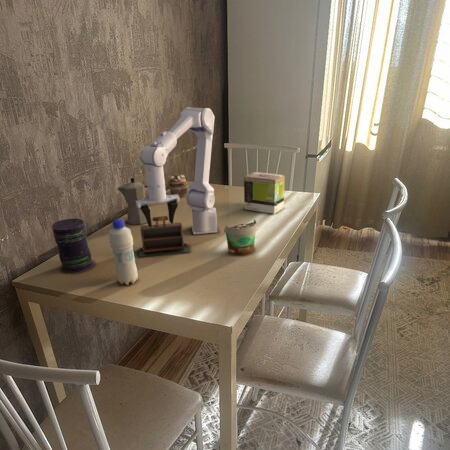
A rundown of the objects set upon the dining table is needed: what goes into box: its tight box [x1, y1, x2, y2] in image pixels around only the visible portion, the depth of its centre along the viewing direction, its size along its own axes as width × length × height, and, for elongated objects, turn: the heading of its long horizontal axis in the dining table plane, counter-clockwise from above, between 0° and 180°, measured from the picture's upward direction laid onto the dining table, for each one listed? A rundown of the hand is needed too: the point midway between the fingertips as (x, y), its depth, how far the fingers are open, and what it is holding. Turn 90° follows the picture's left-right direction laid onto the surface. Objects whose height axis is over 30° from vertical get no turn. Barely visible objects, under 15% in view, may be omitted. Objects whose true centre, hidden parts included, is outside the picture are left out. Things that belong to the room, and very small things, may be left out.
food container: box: [223, 219, 259, 256], centre depth 141 cm, size 12×6×10 cm, turn 118°
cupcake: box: [168, 173, 189, 198], centre depth 203 cm, size 10×10×10 cm
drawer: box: [140, 215, 184, 252], centre depth 144 cm, size 5×14×11 cm, turn 100°
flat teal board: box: [138, 242, 190, 258], centre depth 147 cm, size 7×17×1 cm, turn 100°
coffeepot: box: [116, 177, 148, 225], centre depth 170 cm, size 15×9×18 cm, turn 113°
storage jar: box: [51, 218, 94, 274], centre depth 134 cm, size 10×10×15 cm
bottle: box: [108, 218, 139, 286], centre depth 123 cm, size 7×7×20 cm
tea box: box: [243, 171, 286, 215], centre depth 179 cm, size 15×10×15 cm
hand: (160, 224), depth 142 cm, fingers open, 7 cm apart
